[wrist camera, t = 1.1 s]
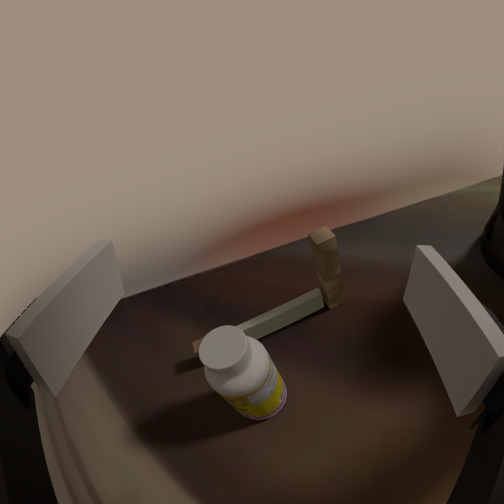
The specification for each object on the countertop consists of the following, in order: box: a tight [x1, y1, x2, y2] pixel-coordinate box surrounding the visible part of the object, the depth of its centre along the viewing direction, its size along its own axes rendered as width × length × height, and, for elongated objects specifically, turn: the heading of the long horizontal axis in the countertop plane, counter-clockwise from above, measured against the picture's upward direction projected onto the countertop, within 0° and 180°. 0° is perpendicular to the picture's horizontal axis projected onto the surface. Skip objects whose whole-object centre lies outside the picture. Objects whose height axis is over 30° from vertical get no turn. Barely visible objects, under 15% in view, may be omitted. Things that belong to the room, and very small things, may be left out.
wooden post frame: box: [193, 226, 345, 357], centre depth 37 cm, size 22×2×12 cm, turn 109°
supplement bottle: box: [199, 326, 287, 420], centre depth 29 cm, size 7×7×13 cm
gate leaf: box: [235, 288, 324, 340], centre depth 40 cm, size 16×2×3 cm, turn 109°
